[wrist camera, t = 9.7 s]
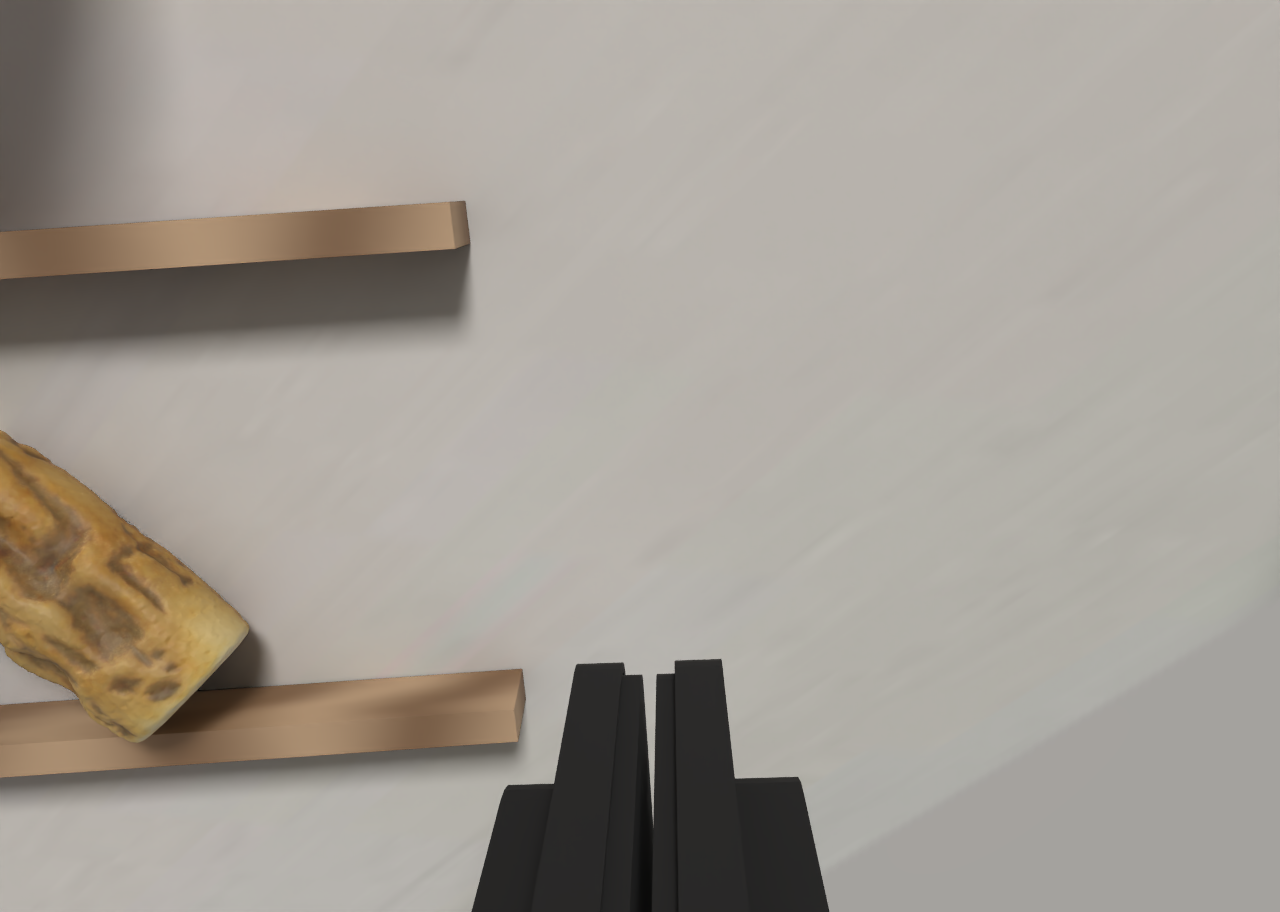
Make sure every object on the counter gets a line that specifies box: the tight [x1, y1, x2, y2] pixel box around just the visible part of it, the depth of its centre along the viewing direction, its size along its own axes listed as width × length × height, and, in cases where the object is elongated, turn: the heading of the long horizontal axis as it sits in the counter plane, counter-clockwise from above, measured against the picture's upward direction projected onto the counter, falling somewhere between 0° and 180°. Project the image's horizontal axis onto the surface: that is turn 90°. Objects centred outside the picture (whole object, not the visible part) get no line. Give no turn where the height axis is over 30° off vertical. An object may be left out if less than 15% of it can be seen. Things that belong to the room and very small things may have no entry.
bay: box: [0, 201, 526, 778], centre depth 19 cm, size 18×18×5 cm
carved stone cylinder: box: [0, 430, 249, 743], centre depth 21 cm, size 8×4×4 cm, turn 45°
